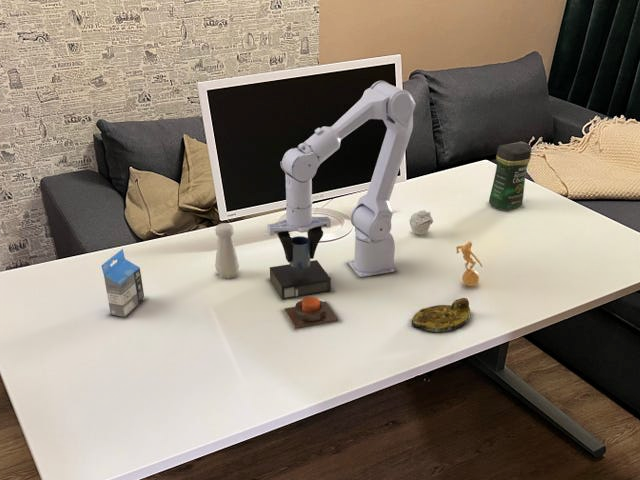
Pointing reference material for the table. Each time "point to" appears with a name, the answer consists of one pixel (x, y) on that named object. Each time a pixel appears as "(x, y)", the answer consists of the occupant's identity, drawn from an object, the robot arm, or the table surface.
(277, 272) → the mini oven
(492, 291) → the table surface
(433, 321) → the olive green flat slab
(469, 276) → the figurine
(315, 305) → the button
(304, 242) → the cup
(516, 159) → the coffee jar
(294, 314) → the control pad
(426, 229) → the crumpled paper ball
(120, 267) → the blue and grey carton
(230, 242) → the salt shaker
